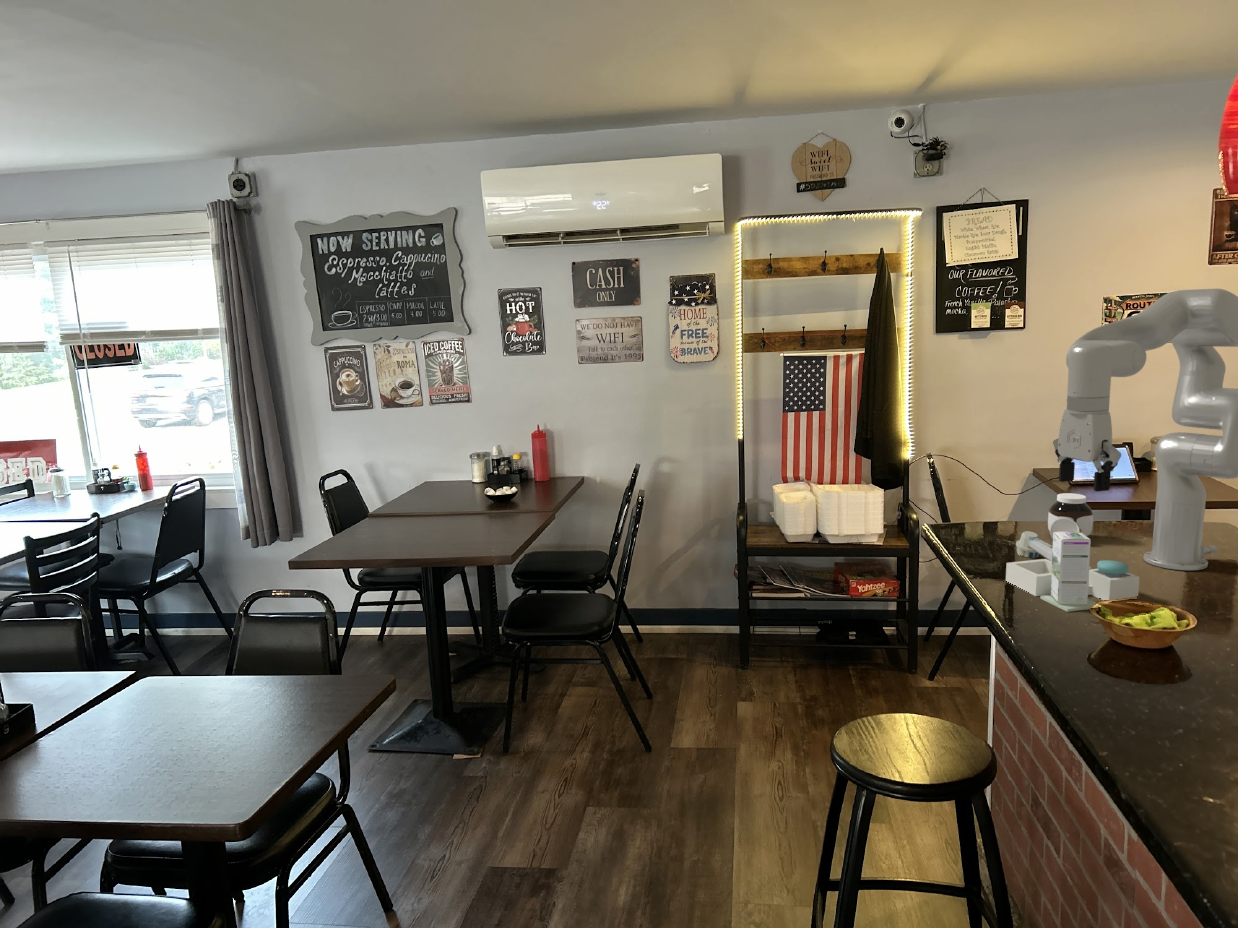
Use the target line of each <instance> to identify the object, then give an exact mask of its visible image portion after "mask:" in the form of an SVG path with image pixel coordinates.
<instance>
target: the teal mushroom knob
mask: <svg viewBox="0 0 1238 928" xmlns="http://www.w3.org/2000/svg"><path fill="white" fill-rule="evenodd" d="M1096 569H1098V570H1100V571H1103V572H1104V576H1107V577H1109V578H1118V577H1120V574H1124V573H1127V572H1128V573H1129V565H1128V564H1127V563H1125V562H1122V561H1118V560H1109V559H1107V560H1106V559H1104V560H1099V561H1097V564H1096Z"/></svg>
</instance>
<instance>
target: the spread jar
mask: <svg viewBox="0 0 1238 928" xmlns="http://www.w3.org/2000/svg"><path fill="white" fill-rule="evenodd" d="M1093 524H1094V514H1093V510H1092V509H1091V507H1090V506H1089V505H1088V504H1087V496H1086V495H1083V494H1082V493H1081V494H1080V493H1070V492H1069V493H1068V492H1063V493H1058V494H1057V495H1056V502H1054V503H1053V504H1052V505H1050V507H1049V510H1048V517H1047V528H1048V531H1049V534H1050V537H1051V538H1052V539H1053V533H1054V532H1063V531H1073V532H1081V533H1083V534H1084V535H1085V536H1087V537H1088V538H1089V537H1090V536H1091V534H1092V531H1093Z"/></svg>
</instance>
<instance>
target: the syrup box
mask: <svg viewBox="0 0 1238 928" xmlns="http://www.w3.org/2000/svg"><path fill="white" fill-rule="evenodd" d="M1091 543H1092V541H1091V538H1089V536H1088V537H1087V536H1085V535H1084V534H1083V533H1081V532H1073V531H1063V532H1054V533H1053V538H1052V546H1053V551H1052V572H1051V594H1050V595H1051V596H1052V597H1053V598H1054V599H1055V600H1056V602H1057V603H1058V604H1063V605H1087V601H1088V599H1089V597H1088V596H1089V595H1088V586H1089V567H1090V564H1091V562H1090V561H1091Z"/></svg>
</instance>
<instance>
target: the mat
mask: <svg viewBox="0 0 1238 928" xmlns="http://www.w3.org/2000/svg"><path fill="white" fill-rule="evenodd" d="M1039 597H1040V599H1041V601H1045V602H1047V603H1049V604H1051V605H1053V606H1054V607H1056V608H1059V609H1061V610H1063V611H1065V612H1067V613H1068V612H1069V613H1070V612H1076V611H1077V612H1078V611H1085V610H1091V609H1090V608H1091V607H1092V606H1093V605H1096V604H1097V603H1098V602H1096V601H1093V600H1092V599H1089V598H1088V601H1087V605H1063V604H1058V603H1057V602H1056V600H1055V599H1054V598H1053V597H1052V596H1051V595H1042V596H1039Z"/></svg>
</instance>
